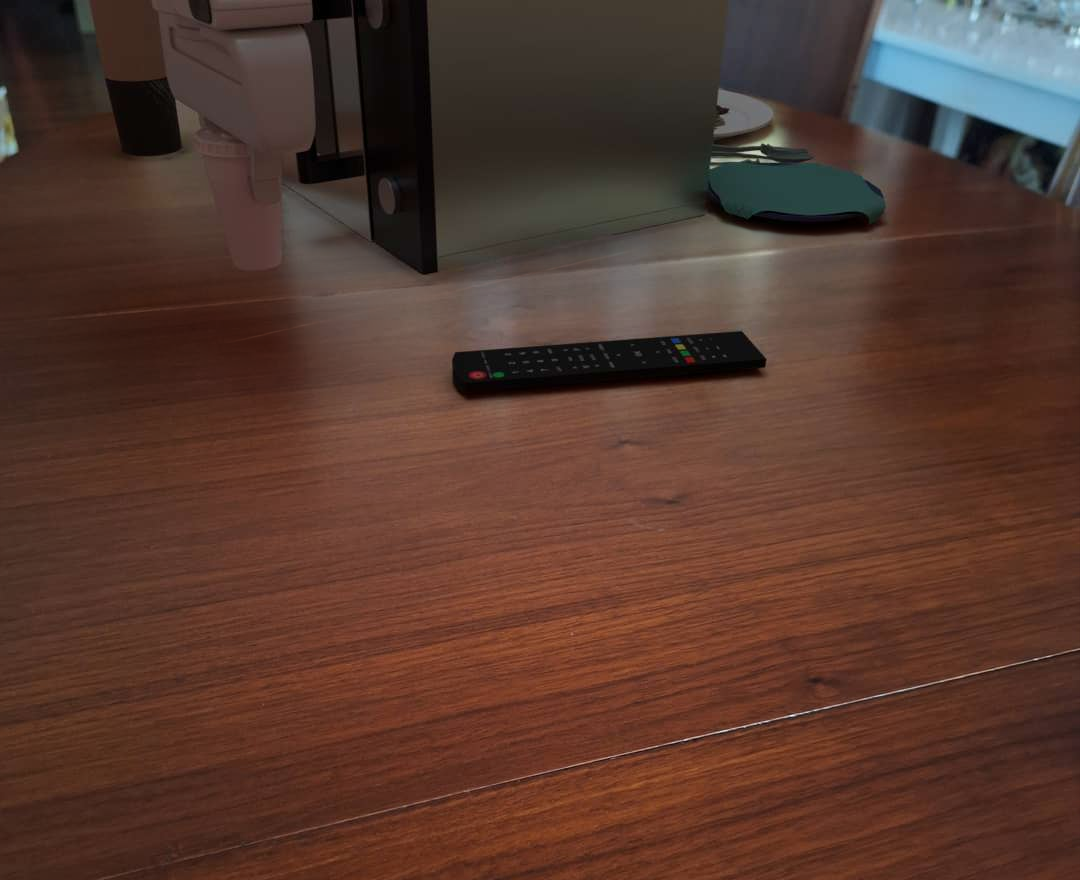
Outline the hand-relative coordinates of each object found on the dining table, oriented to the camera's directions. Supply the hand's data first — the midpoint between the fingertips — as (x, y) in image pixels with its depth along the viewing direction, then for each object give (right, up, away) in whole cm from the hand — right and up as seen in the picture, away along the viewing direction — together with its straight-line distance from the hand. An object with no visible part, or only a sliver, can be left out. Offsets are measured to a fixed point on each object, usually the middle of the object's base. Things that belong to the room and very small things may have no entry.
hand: (247, 188), depth 77 cm
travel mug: (-27, +23, +52) cm, 63 cm away
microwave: (+13, +14, +42) cm, 46 cm away
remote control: (+27, -13, +4) cm, 30 cm away
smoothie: (0, -5, +3) cm, 6 cm away
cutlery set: (+49, +14, +42) cm, 67 cm away
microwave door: (-6, +11, +36) cm, 38 cm away
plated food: (+39, +32, +68) cm, 85 cm away
